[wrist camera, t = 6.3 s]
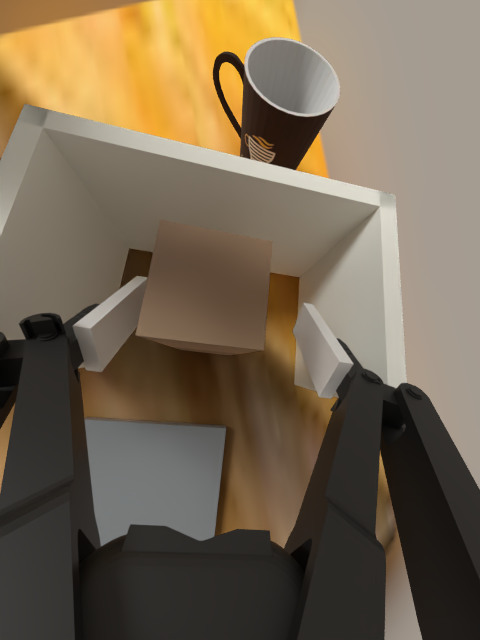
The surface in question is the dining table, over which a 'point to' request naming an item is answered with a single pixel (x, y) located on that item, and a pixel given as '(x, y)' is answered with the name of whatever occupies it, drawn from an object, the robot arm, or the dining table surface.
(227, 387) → the dining table surface
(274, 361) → the dining table surface
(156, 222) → the cubby
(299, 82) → the coffee mug
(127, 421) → the coaster
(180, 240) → the walnut block
